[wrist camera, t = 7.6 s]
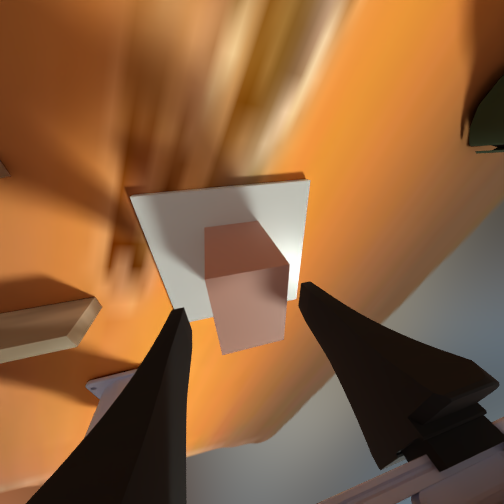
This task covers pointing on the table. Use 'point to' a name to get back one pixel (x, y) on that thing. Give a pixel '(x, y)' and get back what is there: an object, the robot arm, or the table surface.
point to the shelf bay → (44, 325)
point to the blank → (245, 285)
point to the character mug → (489, 120)
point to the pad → (215, 214)
